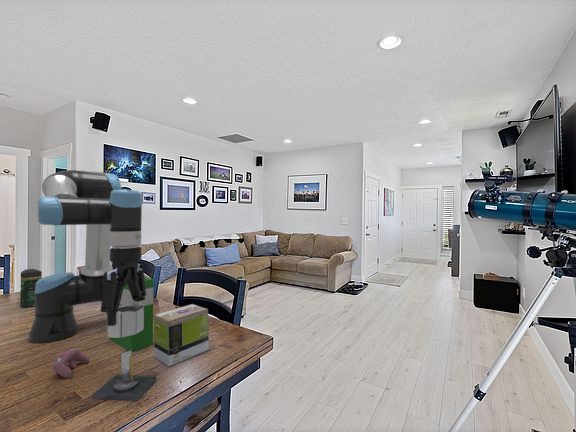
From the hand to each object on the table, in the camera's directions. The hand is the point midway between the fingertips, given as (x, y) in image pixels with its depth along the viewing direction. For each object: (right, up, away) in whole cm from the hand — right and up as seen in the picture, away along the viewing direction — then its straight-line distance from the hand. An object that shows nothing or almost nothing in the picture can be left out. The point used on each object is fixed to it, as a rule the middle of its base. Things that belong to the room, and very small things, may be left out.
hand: (125, 330), depth 79 cm
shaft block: (0, -16, 0) cm, 16 cm away
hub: (0, 0, 0) cm, 0 cm away
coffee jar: (-88, -15, +71) cm, 114 cm away
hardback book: (-14, -16, +29) cm, 36 cm away
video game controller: (-21, -16, +9) cm, 28 cm away
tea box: (+8, -16, +20) cm, 27 cm away
